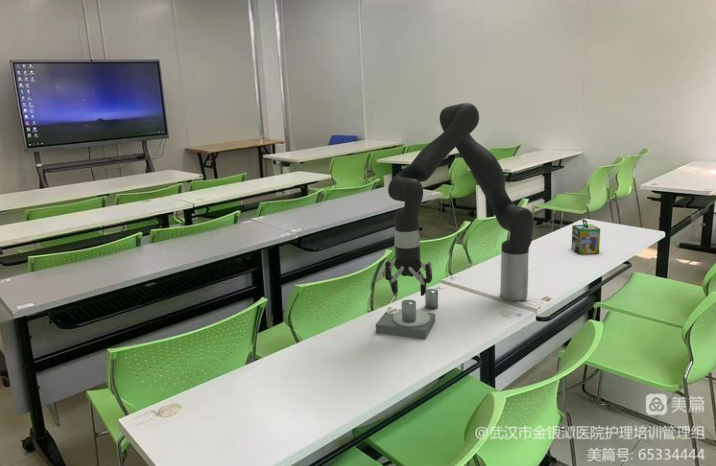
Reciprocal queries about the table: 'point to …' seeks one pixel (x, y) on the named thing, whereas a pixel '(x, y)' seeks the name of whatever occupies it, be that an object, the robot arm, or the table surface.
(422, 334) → the scale
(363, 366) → the table surface
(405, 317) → the cylinder
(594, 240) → the colorful box with handle
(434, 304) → the cylinder
